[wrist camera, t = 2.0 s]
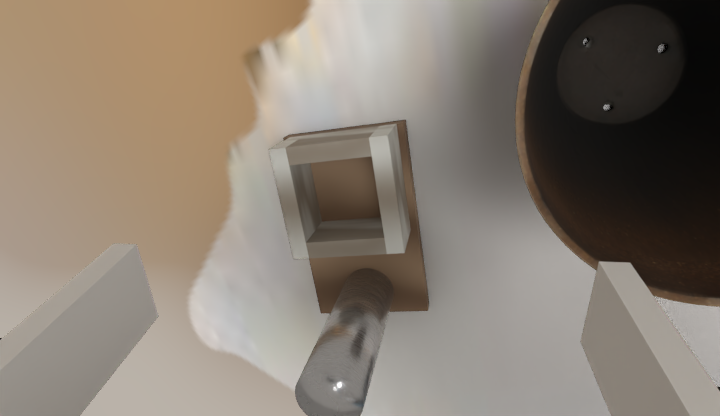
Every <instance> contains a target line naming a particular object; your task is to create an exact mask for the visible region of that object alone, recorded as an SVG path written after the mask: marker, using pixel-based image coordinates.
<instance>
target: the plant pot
mask: <svg viewBox="0 0 720 416" xmlns="http://www.w3.org/2000/svg"><path fill="white" fill-rule="evenodd" d="M585 38H589V39H590V41H589V42H588V43H587V44H586V46H584V44H583V40H584V39H585ZM663 43H664V44H667V45H668V49H667V50H666V51H665V52H664V53H661V54H660V53H658V50H657V49H658V47H659V45H660V44H663ZM605 104H610V105H612V107H613V108H612V109H611V110H609V111H605V110H604V109H603V106H604V105H605ZM515 132H516V145H517V151H518V157H519V163H520V166H521V170H522V173H523V177H524V180H525V183H526V185H527V188H528V190H529V193H530V195H531V197H532V199H533V201H534V203H535V205H536V207H537V209H538V211H539V212H540V214H541V215H542V217H543V218H544V220H545V221H546V223H547V224H548V225H549V227H550V228H551V229H552V230H553V232H554V233H555V234H556V235H557V236H558V237H559V239H560V240H561V241H562V242H563V243H564V244H565V245H566V246H567V247H568V248H569V249H570V250H571V251H572V252H573V253H574V254H576V255H577V256H578V257H579V258H580V259H582V260H583V261H584V262H586V263H587V264H588V265H590V266H591V267H592V268H594V269H595V270H597V267H598V263H599V262H626V263H631V265H632V266H633V268H634V269H635V270H636V272H637V273H638V275H639V276H640V278H641V279H642V280H643V282H644V283H645V285H646V286H647V288H648V289H649V290H650V292H651V293H652V295H653V296H656V297H660V298H664V299H668V300H673V301H678V302H684V303H690V304H696V305H706V306H719V307H720V0H549V2H548V4H547V6H546V8H545V10H544V12H543V14H542V16H541V18H540V20H539V22H538V24H537V26H536V28H535V31H534V33H533V36H532V38H531V41H530V44H529V46H528V49H527V52H526V55H525V59H524V62H523V66H522V70H521V74H520V79H519V84H518V90H517V97H516V109H515Z"/></svg>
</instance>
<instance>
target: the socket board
mask: <svg viewBox="0 0 720 416" xmlns="http://www.w3.org/2000/svg"><path fill="white" fill-rule="evenodd" d="M283 139H284V141H283V142H281V143H279V144H277V145H276V146H274V147H272V148H271V149H269V154H270V159H271V163H272V168H273V172H274V176H275V181H276V185H277V190H278V194H279V198H280V203H281V207H282V212H283V216H284V221H285V225H286V229H287V234H288V238H289V243H290V247H291V251H292V256H293V259H308V258H309V260H310V265H311V269H312V274H313V279H314V283H315V288H316V293H317V297H318V302H319V307H320V311H321V313H331V311H332V309H333V307H334V305H335V303H336V301H337V299H338V297H339V295H340V293H341V291H342V289H343V286H344V284H345V282H346V280H347V278H348V277H349V276H350V275H351V274H352V273H353V272H354V271H356V270H359V269H364V268H370V269H375V270H377V271H380V272H381V273H383V274H384V275H385V276H387V278H388V279H389V280H390V281H391V283H392V286H393V289H394V296H393V300H392V304H391V307H390V311H389V312H395V311H428V307H429V298H428V291H427V283H426V275H425V267H424V259H423V251H422V244H421V236H420V228H419V220H418V212H417V204H416V197H415V189H414V181H413V173H412V165H411V157H410V150H409V142H408V134H407V126H406V120H401V121H393V122H386V123H378V124H370V125H362V126H355V127H347V128H339V129H331V130H323V131H316V132H308V133H300V134H292V135H288V136H286V137H284V138H283Z"/></svg>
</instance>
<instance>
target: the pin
mask: <svg viewBox="0 0 720 416" xmlns="http://www.w3.org/2000/svg"><path fill="white" fill-rule="evenodd" d="M393 296H394V289H393V286H392V283H391V281H390V280H389V279H388V278H387V276H385V275H384V274H383V273H381V272H380V271H377V270H375V269H370V268H364V269H359V270H356V271H354V272H353V273H352V274H351V275H350V276H349V277H348V278H347V280H346V282H345V284H344V286H343V289H342V291H341V293H340V295H339V297H338V299H337V301H336V303H335V305H334V307H333V309H332V311H331V314H330V316H329V318H328V320H327V322H326V324H325V326H324V328H323V330H322V332H321V334H320V336H319V339H318V341H317V343H316V345H315V347H314V349H313V351H312V353H311V355H310V357H309V359H308V361H307V363H306V366H305V368H304V370H303V372H302V374H301V376H300V378H299V380H298V382H297V385H296V389H295V394H296V399H297V402H298V404H299V406H300V408H301V409H302V410H303V411H304V412H305V413H306V414H307V415H308V416H360V415H361V413H362V411H363V407H364V403H365V400H366V396H367V392H368V388H369V385H370V381H371V377H372V374H373V370H374V366H375V363H376V359H377V355H378V352H379V348H380V344H381V341H382V337H383V333H384V330H385V326H386V322H387V318H388V315H389V311H390V307H391V304H392V300H393Z"/></svg>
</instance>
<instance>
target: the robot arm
mask: <svg viewBox="0 0 720 416" xmlns="http://www.w3.org/2000/svg"><path fill="white" fill-rule="evenodd" d="M157 318H158V313H157V310H156V307H155V303H154V300H153V297H152V294H151V290H150V286H149V283H148V280H147V276H146V273H145V270H144V266H143V263H142V260H141V257H140V253H139V250H138V246H137V244H112V245H111V246H110V247H109V248H108V249H107V250H105V251H104V252H103V253H102V254H101V255H99V256H98V257H97V258H96V259H95V260H94V261H92V262H91V263H90V264H89V265H88V266H87V267H85V268H84V269H83V270H82V271H81V272H79V274H77V275H76V276H75V277H74V278H72V279H71V280H70V281H69V282H68V283H67V284H65V285H64V286H63V287H62V288H61V289H60V290H59V291H57V292H56V293H55V294H54V295H53V296H51V297H50V298H49V299H48V300H47V301H46V302H44V303H43V304H42V305H41V306H40V307H39V308H38V309H36V310H35V311H34V312H33V313H32V314H30V315H29V316H28V317H27V318H26V319H24V320H23V321H22V322H21V323H20V324H19V325H17V326H16V327H15V328H14V329H13V330H12V331H10V332H9V333H8V334H7V335H6V336H4V337H3V338H0V416H80V415H81V414H82V412H83V411H84V410H85V409H86V407H87V406H88V405H89V404H90V402H91V401H92V400H93V398H94V397H95V396H96V395H97V393H98V392H99V391H100V390H101V388H102V387H103V386H104V385H105V383H106V382H107V381H108V380H109V378H110V377H111V376H112V374H113V373H114V372H115V371H116V369H117V368H118V367H119V366H120V364H121V363H122V362H123V361H124V359H125V358H126V357H127V355H128V354H129V353H130V352H131V350H132V349H133V348H134V347H135V345H136V344H137V343H138V342H139V340H140V339H141V338H142V337H143V335H144V334H145V333H146V331H147V330H148V329H149V328H150V326H151V325H152V324H153V323H154V321H155V320H156V319H157ZM581 344H582V346H583V349H584V351H585V354H586V356H587V358H588V361H589V363H590V366H591V368H592V371H593V373H594V375H595V378H596V380H597V383H598V385H599V388H600V390H601V392H602V395H603V397H604V400H605V402H606V405H607V407H608V409H609V412H610V414H611V416H720V387H716V385H715V384H714V382H713V381H712V379H711V378H710V377H709V375H708V374H707V372H706V371H705V369H704V368H703V366H702V365H701V364H700V362H699V361H698V359H697V358H696V356H695V355H694V354H693V352H692V351H691V349H690V348H689V346H688V345H687V344H686V342H685V341H684V339H683V338H682V336H681V335H680V333H679V332H678V331H677V329H676V328H675V326H674V325H673V323H672V322H671V321H670V319H669V318H668V316H667V315H666V313H665V312H664V311H663V309H662V308H661V306H660V305H659V303H658V302H657V301H656V299H655V298H654V296H653V295H652V293H651V292H650V290H649V289H648V288H647V286H646V285H645V283H644V282H643V280H642V279H641V278H640V276H639V275H638V273H637V272H636V270H635V269H634V268H633V266H632V265H631V263H626V262H599V263H598V267H597V272H596V276H595V281H594V285H593V289H592V294H591V298H590V302H589V307H588V311H587V316H586V320H585V324H584V329H583V333H582V338H581Z"/></svg>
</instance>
